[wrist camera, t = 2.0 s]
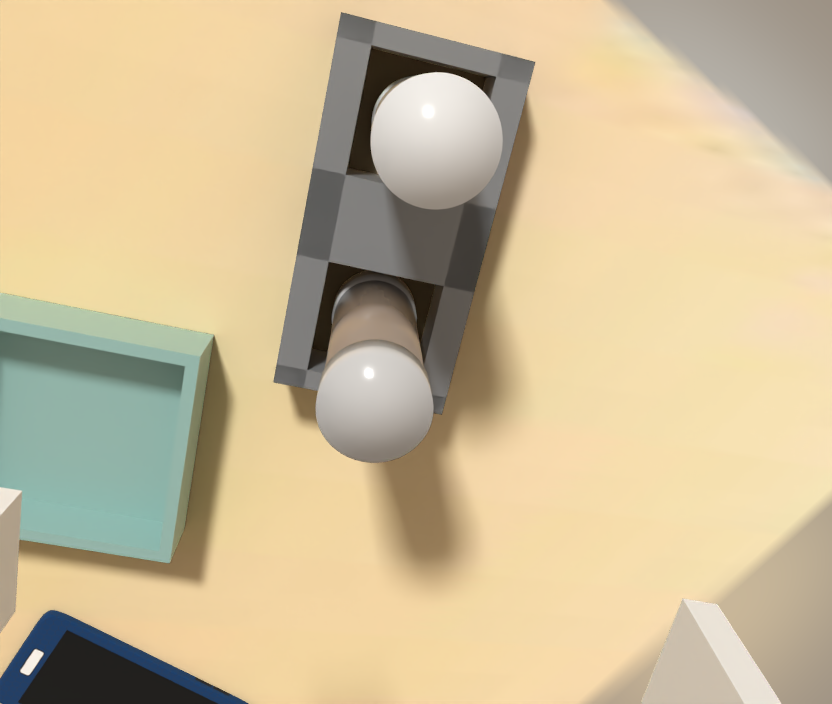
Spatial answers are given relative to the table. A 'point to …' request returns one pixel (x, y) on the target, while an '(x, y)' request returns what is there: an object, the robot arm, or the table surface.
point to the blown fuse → (374, 372)
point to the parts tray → (99, 426)
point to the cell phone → (95, 671)
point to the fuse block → (393, 206)
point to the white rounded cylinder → (435, 139)
